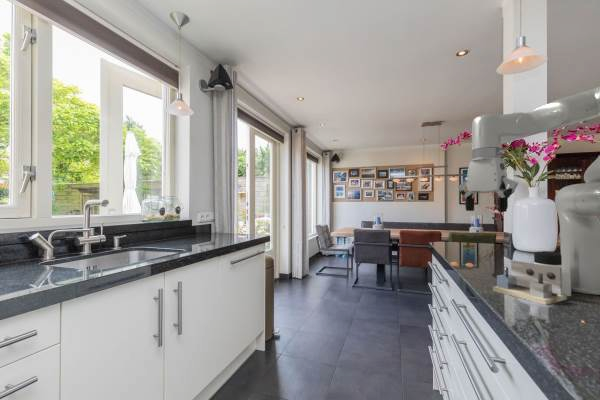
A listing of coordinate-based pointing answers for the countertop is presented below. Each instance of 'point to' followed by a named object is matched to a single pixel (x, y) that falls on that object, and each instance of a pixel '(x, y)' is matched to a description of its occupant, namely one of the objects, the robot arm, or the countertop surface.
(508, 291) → the board
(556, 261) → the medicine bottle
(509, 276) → the sliding pin
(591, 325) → the countertop surface
